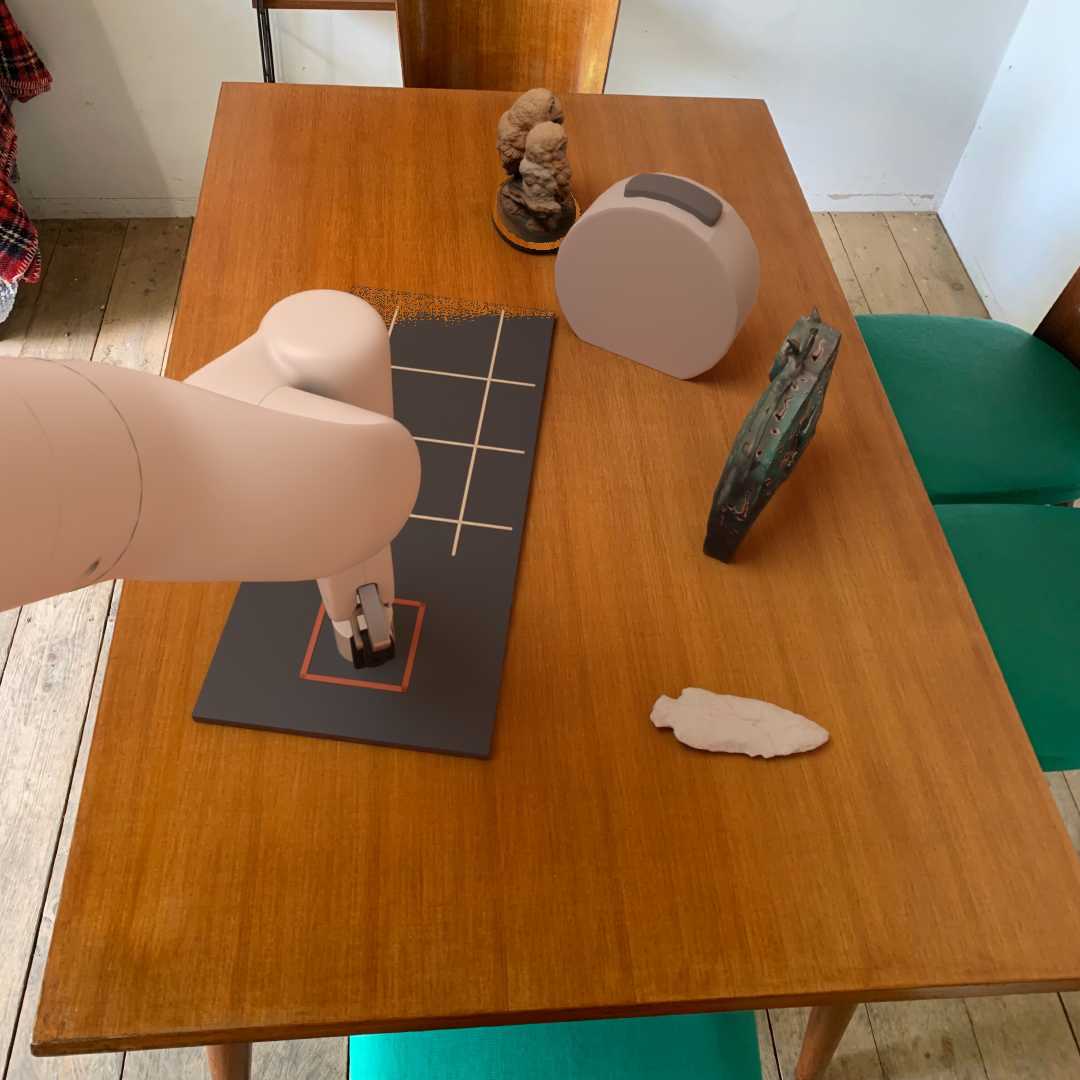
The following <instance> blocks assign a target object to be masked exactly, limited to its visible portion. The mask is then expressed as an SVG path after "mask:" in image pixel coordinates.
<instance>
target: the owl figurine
mask: <svg viewBox="0 0 1080 1080" xmlns="http://www.w3.org/2000/svg"><path fill="white" fill-rule="evenodd" d="M564 122H565V114H564V108H563V104H562V103H561V100H560V99H559V98H558V97H557V96H555V95H554V94H553V93H552V91H551V90H549V89H547V88H544V87H538V88H531V89H529V90H528V91H526V92H525V93H523V94H521V95H520V96H519V97H518V98H517V99H516V100H515V101H514V102H513V104H512V106H511V108H510V109H508V110H506V111H505V112H504V113H502V114H501V117H500V119H499V121H498V124H497V139H496V141H495V149H496V150H497V151H498V155H499V159H500V161H501V166H502V169H503V174H505V176H509V177H508V178H507V179H505V180H504V181H505V183H504V184H503V185H502V186H501V188H500V190H499V192H498V195H497V209H498V210H497V212H498V215H499V216H498V217H500V218H499V219H500V220H501V222H502V224H503V225H505V226H504V227H506V229H508V232H510V233H513V234H514V235H516V237H517V238H519V239H522V240H524V241H526V242H534V243H545V242H546V243H547V242H548V243H549V242H556V241H557V240H558V239H559V240H560V238H563V237H565V236H566V235H567V233H568V232H569V230H570V229H571V227H572V226H573V225H574V223H575V219H576V206H575V201H574V199H573V197H572V195H571V193H572V192H571V191H572V184H571V182H572V177H573V176H572V172H573V171H572V170H573V169H572V168H571V164H570V158H569V157H568V156H567V150H568V142H569V140H568V135H567V133H566V130H565V127H564V126H563V124H564ZM570 192H571V193H570ZM490 213H491V219H492V222H493V226H494V228H495V231H496V232H497V233H498V235H499V236H500V237H501V238H502V239H503V240H504V241H505V242H506V243H508V244H509V245H511V247H513V248H515V249H517V250H523V251H524V252H527V253H530V252H533V253H537V252H538V253H543V252H549V253H554V252H556V253H558V251H559V247H557V248H554V249H550V250H536V249H530V248H525V247H523V246H520V245H518V244H515V243H514V242H512V241H511V240H509V239H508V238H507V237H506V236H505V235H504V234H502V232H501V231H500V230H499V228H498V227H497V225H496V223H495V221H494V218H493V215H492V209H491V208H490Z"/></svg>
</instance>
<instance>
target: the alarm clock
mask: <svg viewBox="0 0 1080 1080" xmlns="http://www.w3.org/2000/svg"><path fill="white" fill-rule="evenodd" d="M761 280H762V272H761V262H760V256H759V250H758V249H757V246H756V243H755V241H754V238H753V236H752V234H751V231H750V229H749V227H748V226H747V224H746V223H745V222H744V220H743V219H742V218H741V217H740V215H739V213H738V212H737V211H736V210H735V208H734V207H733V206H732V205H731V204H730V203H729V202H727V201H726V200H725V199H724V198H723V197H721V196H720V195H719V194H718V193H716V192H715V191H714V190H713V189H711V188H710V187H708V186H706V185H703V184H702V183H699V182H697V181H695V180H693V179H691V178H689V177H686V176H681V175H677V174H672V173H667V172H650V173H649V172H648V173H647V172H645V173H644V172H643V173H637V174H634V175H632V176H629V177H626V178H624V179H622V180H618V181H616V182H614V183H613V184H612V185H611V186H610V187H609V188H607V189H606V190H605V191H604V192H602V193H601V194H600V195H599V196H598V197H597V198H596V199H595V200H594V201H593V202H592V203H591V205H590V206H589V207H588V208H587V209H586V210H585V211H584V213H583V214H581V217H580V218H579V219H578V221H577V222H576V223H575V224H574V225H573V226H572V227H571V229H570V230H569V232H568V233H567V235H566V237H565V238H564V240H563V241H562V243H561V244H560V247H559V251H557V255H556V259H555V263H554V289H555V292H556V296H557V299H558V303H559V307H560V310H561V313H562V314H563V315H564V318H565V319H566V322H567V323H568V325H569V327H570V328H571V330H572V332H573V333H574V334H575V335H576V336H577V338H578V339H579V340H580V341H582V342H585V343H587V344H590V345H591V346H595V347H597V348H600V349H603V350H604V351H607V352H610V353H612V354H615V355H618V356H620V357H623V358H625V359H627V360H630V361H633V362H635V363H638V364H640V365H643V366H646V367H647V368H651V369H652V370H656V371H658V372H660V373H663V374H666V375H668V376H671V377H673V378H676V379H678V380H688V379H693V378H695V377H697V376H699V375H701V374H703V373H705V372H707V371H709V370H711V369H713V367H715V365H717V364H718V363H719V362H720V361H721V360H722V359H723V357H725V355H727V353H728V352H729V350H730V348H731V346H732V345H733V344H734V341H735V340H736V338H737V336H738V335H739V333H740V332H741V330H742V329H743V327H744V325H745V323H746V321H747V319H748V318H749V316H750V314H751V313H752V310H753V308H754V307H755V304H756V303H757V301H758V297H759V294H760V293H759V292H760V285H761Z"/></svg>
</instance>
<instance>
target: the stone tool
mask: <svg viewBox="0 0 1080 1080" xmlns="http://www.w3.org/2000/svg"><path fill="white" fill-rule="evenodd" d="M649 719H650V721H651V722H652V724H654V726H655V727H656V728H661V727H662V728H671V729H673V734H674V736H675V738H676V739H677V740H678V741H679V742H681V743H683V744H685V745H687V746H689V747H691V748H694V749H696V750H707V751H710V752H725V753H729V754H730V753H732V754H733V753H737V754H746V755H749V756H750V757H751V758H754V757H756V756H759V755H761V756H762V757H763V758H764V759H769V758H772V757H775V756H788V755H791V754H796V753H805V752H807V751H811V750H815V749H816V748H818V747H820V746H823V745H824V744H825V743H827V742H828V740H829V737H830V736H829V735H830V731H828V730H827V729H825V728H824V727H823V726H822V725H819V724H818V723H816V722H815V721H813V720H810V719H809V718H807V717H805V716H804V715H801V714H799V713H794V712H793V711H791V710H789V709H785V708H782V707H781V706H778V705H776V704H774V703H772V702H767V701H764V700H763V701H762V700H759V698H751V697H742V696H739V695H733V694H719V693H715V692H713V691H711V690H706V689H704V688H700V687H692V686H691V687H689V686H688V687H687V688H683V689H682V691H681V695H680V696H679V697H678V698H672V697H669V696H668V695H666V694H665V693H664V694H662V695H661V696H659V698H657V700H656V701H655V703H654V704H653V705H652V712H651V713H650V715H649Z"/></svg>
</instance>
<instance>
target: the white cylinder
mask: <svg viewBox="0 0 1080 1080" xmlns="http://www.w3.org/2000/svg"><path fill="white" fill-rule="evenodd" d="M357 603H358V604H359V603H360V600H359V597H358V595H357ZM386 607H387V606H386ZM387 612H388V616H389V620H390V625H391V626H392V629H393V636H394V643H395V629H394V618H393V609H392V605H391V607H390V608H387ZM357 618H358V622H359V626H360V630H363V629H366V628H367V625H366V622H365V618H364V614H363V615H360V616H357ZM332 624H333V630H334V635H335V640H336V645H337V648H338V651H339V652H340V654H341V655H342V656H343V657H344V658H346V659H347V660H349V661H351V662H353V659H352V652H351V645H350V638H349V637H351V636H352V635H353V633H352V629H351V625H350V621H349V620H347V621H342V622H335V621H333V620H332Z"/></svg>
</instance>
